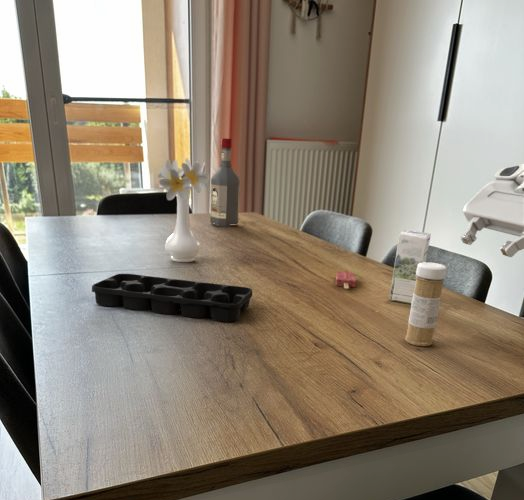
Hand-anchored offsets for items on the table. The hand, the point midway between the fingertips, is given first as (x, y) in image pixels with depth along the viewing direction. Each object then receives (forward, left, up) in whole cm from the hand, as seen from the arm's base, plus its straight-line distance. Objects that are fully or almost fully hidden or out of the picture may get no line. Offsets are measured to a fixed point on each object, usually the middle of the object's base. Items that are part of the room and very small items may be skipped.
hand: (483, 247), depth 85 cm
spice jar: (+9, +2, -16) cm, 19 cm away
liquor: (+37, -117, -16) cm, 124 cm away
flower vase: (+50, -55, -16) cm, 76 cm away
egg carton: (+51, -16, -16) cm, 56 cm away
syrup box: (+2, -23, -16) cm, 28 cm away
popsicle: (+12, -35, -16) cm, 40 cm away
